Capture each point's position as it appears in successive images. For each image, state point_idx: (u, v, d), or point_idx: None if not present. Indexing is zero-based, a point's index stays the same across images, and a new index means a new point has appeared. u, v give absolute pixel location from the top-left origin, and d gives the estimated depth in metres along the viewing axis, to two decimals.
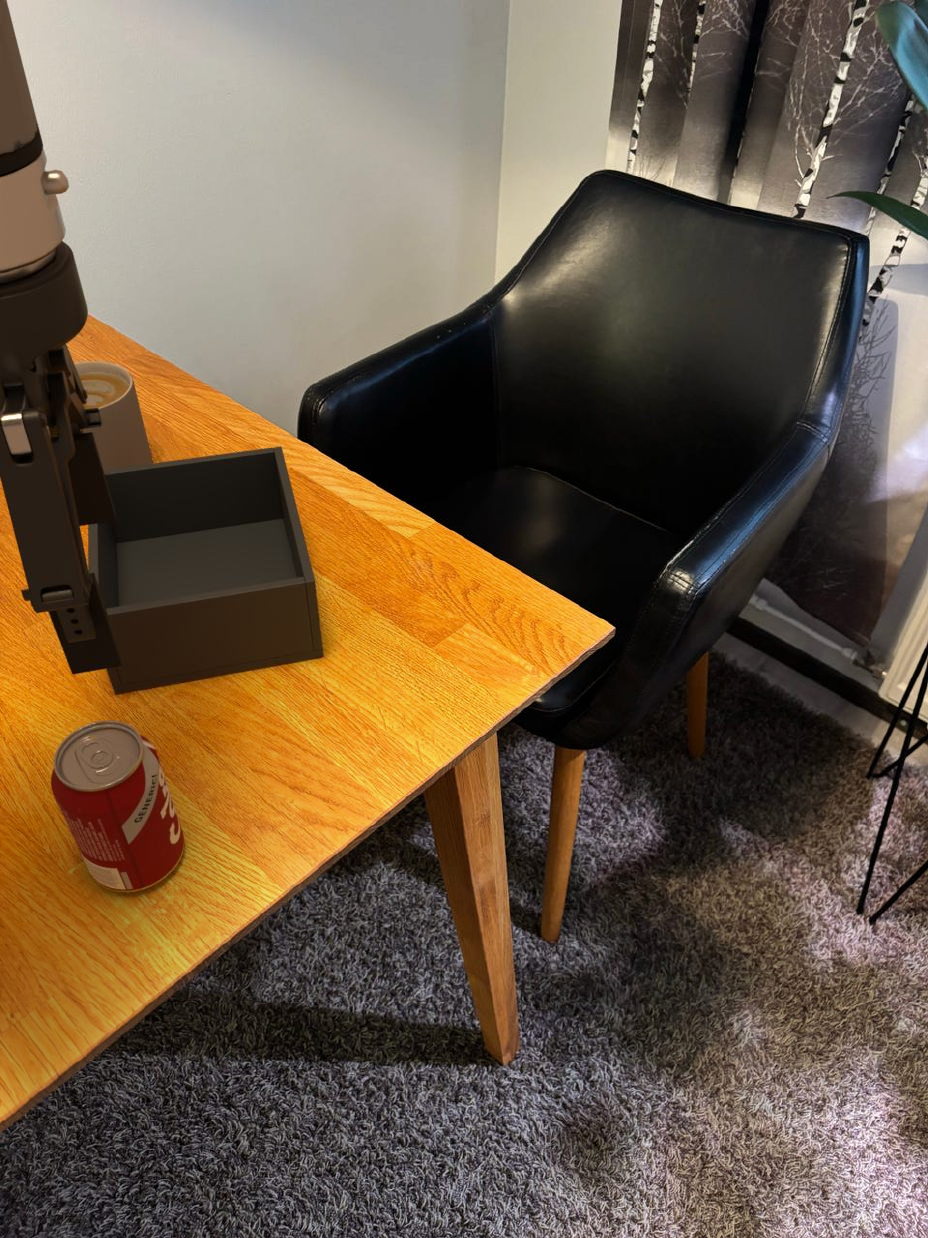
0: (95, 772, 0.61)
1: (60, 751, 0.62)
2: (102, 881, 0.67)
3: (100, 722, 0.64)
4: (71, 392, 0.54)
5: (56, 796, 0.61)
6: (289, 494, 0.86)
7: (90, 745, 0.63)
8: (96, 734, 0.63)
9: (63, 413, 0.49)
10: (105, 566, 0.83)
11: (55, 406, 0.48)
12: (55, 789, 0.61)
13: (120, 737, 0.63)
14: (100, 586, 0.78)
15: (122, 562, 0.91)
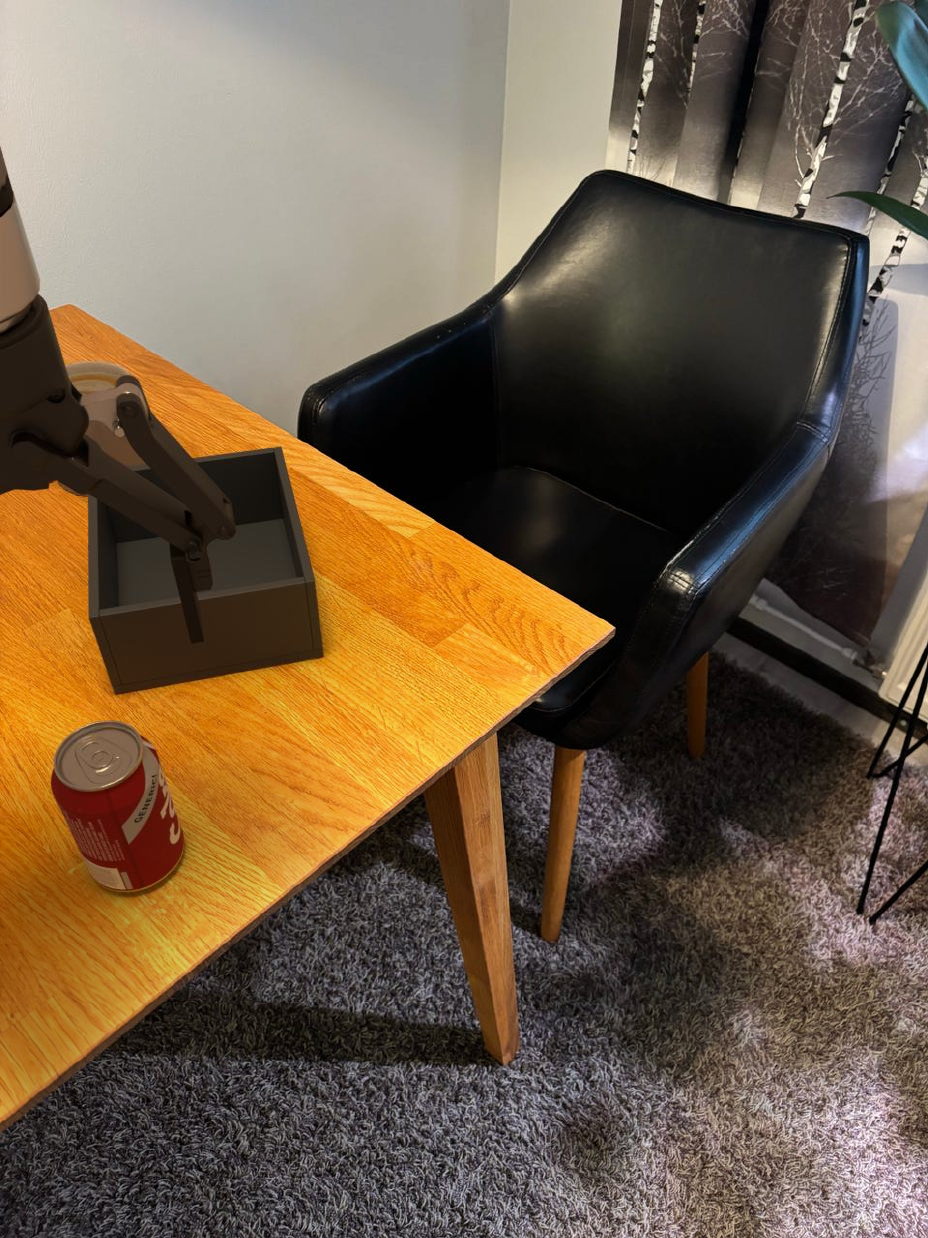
0: (95, 772, 0.61)
1: (60, 751, 0.62)
2: (102, 881, 0.67)
3: (100, 722, 0.64)
4: None
5: (56, 796, 0.61)
6: (289, 494, 0.86)
7: (90, 745, 0.63)
8: (96, 734, 0.63)
9: None
10: (105, 566, 0.83)
11: None
12: (55, 789, 0.61)
13: (120, 737, 0.63)
14: (100, 586, 0.78)
15: (122, 562, 0.91)
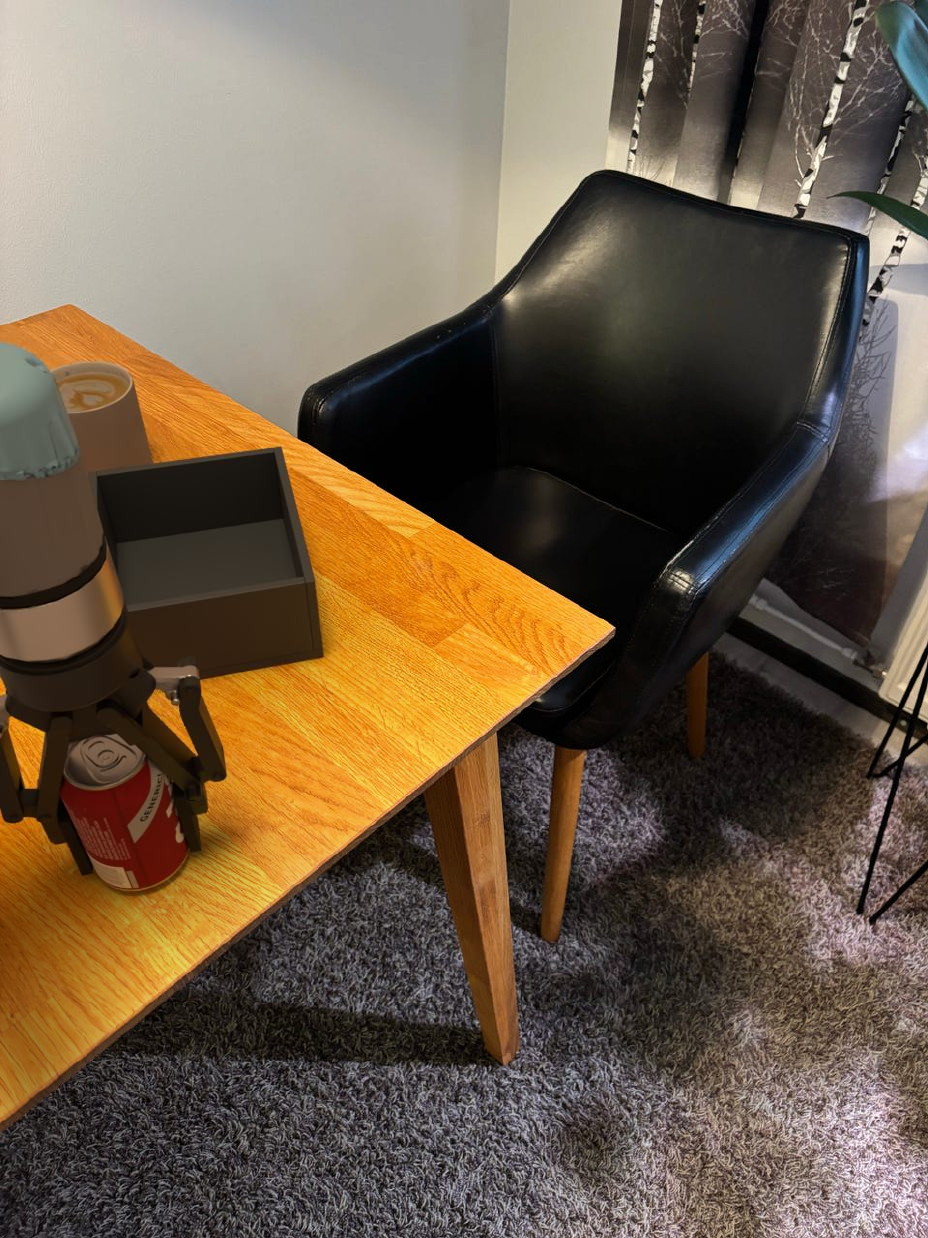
0: (101, 771, 0.61)
1: None
2: (108, 880, 0.67)
3: None
4: None
5: (62, 795, 0.61)
6: (289, 494, 0.86)
7: (96, 744, 0.63)
8: None
9: None
10: None
11: None
12: (61, 788, 0.61)
13: None
14: None
15: (122, 562, 0.91)
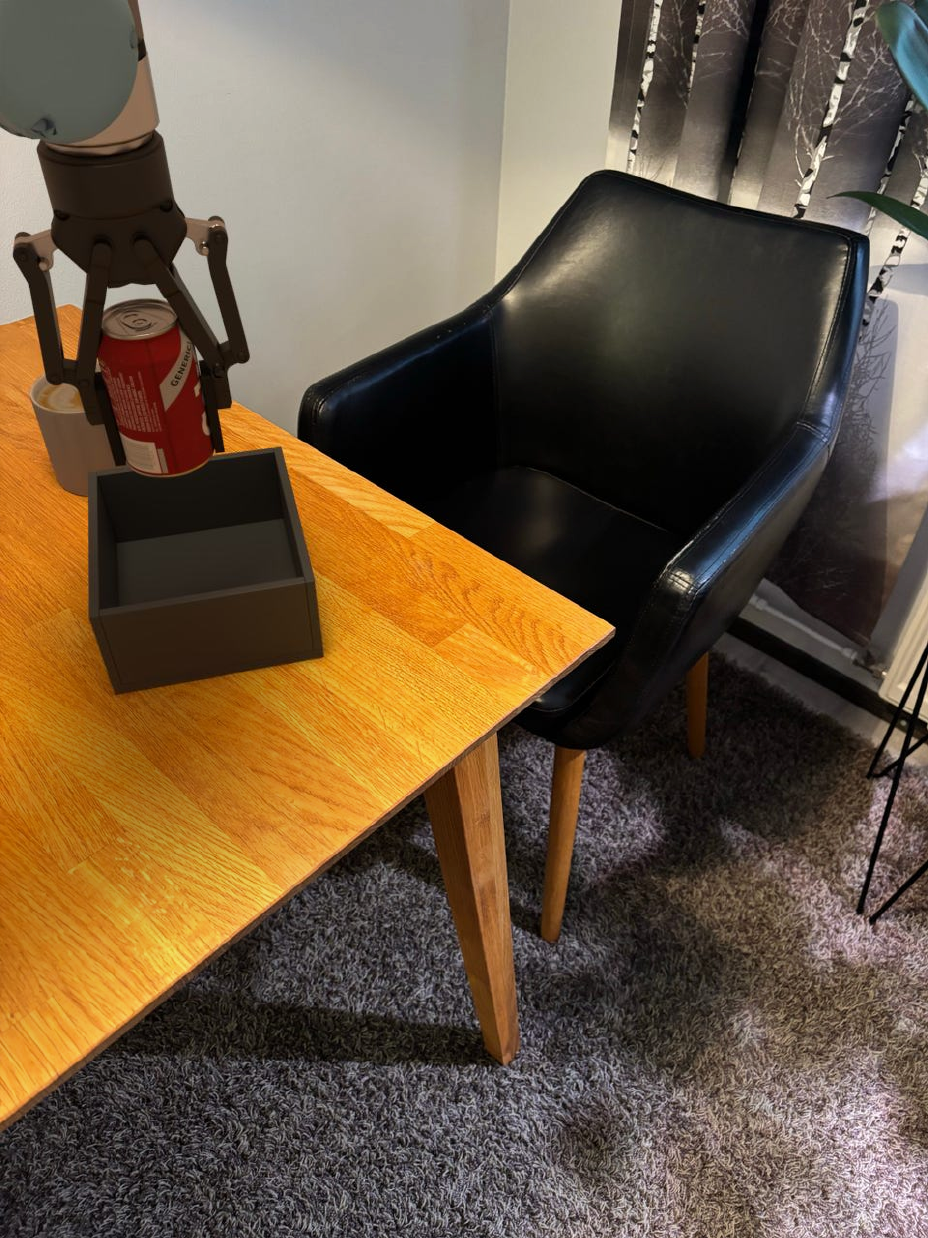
0: (135, 331, 0.67)
1: (103, 317, 0.68)
2: (140, 465, 0.72)
3: (139, 299, 0.69)
4: None
5: (100, 352, 0.67)
6: (289, 494, 0.86)
7: (130, 315, 0.68)
8: (135, 309, 0.69)
9: None
10: (105, 566, 0.83)
11: None
12: (99, 347, 0.67)
13: (157, 310, 0.69)
14: (100, 586, 0.78)
15: (122, 562, 0.91)
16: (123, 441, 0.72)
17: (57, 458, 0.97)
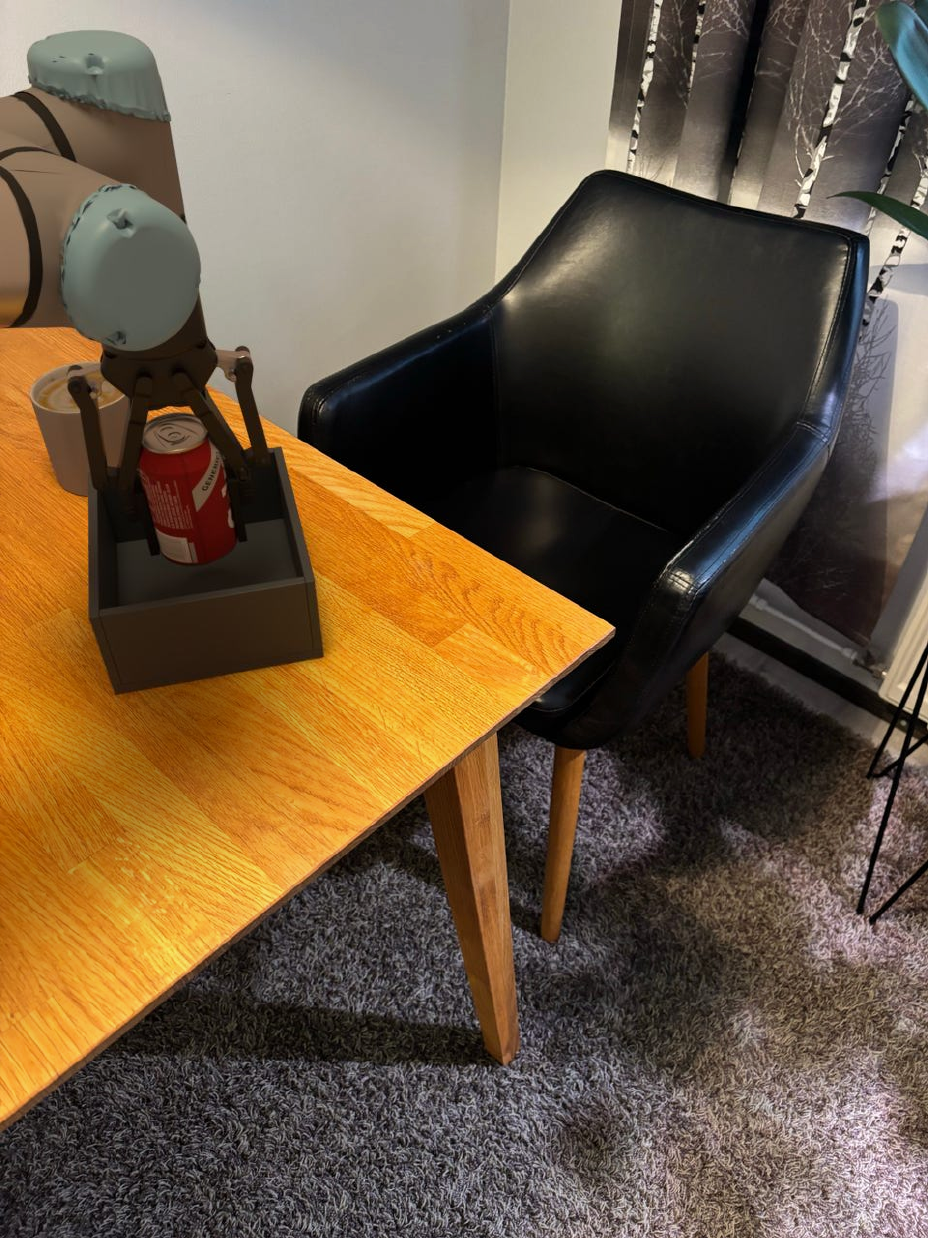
0: (171, 444, 0.76)
1: None
2: (172, 556, 0.82)
3: (173, 413, 0.78)
4: None
5: (140, 463, 0.76)
6: (289, 494, 0.86)
7: (166, 428, 0.78)
8: (170, 422, 0.78)
9: None
10: (105, 566, 0.83)
11: None
12: (139, 458, 0.76)
13: (189, 424, 0.78)
14: (100, 586, 0.78)
15: (122, 562, 0.91)
16: (158, 535, 0.81)
17: (57, 458, 0.97)
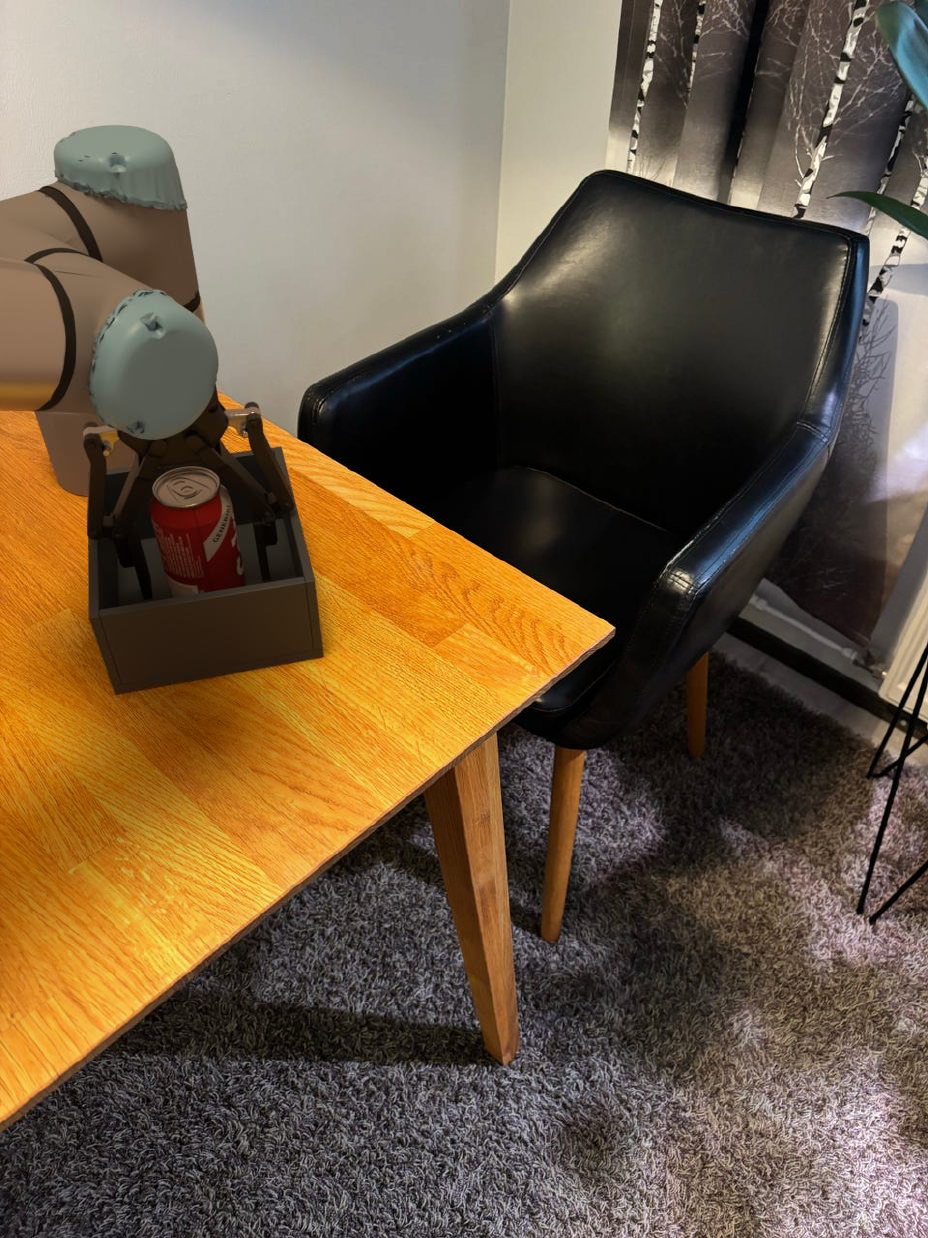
0: (184, 499, 0.80)
1: (156, 485, 0.81)
2: None
3: (185, 467, 0.82)
4: None
5: (154, 516, 0.80)
6: None
7: (179, 482, 0.81)
8: (182, 476, 0.82)
9: None
10: (105, 566, 0.83)
11: None
12: (153, 511, 0.80)
13: (201, 478, 0.82)
14: (100, 586, 0.78)
15: None
16: (170, 582, 0.85)
17: (57, 458, 0.97)
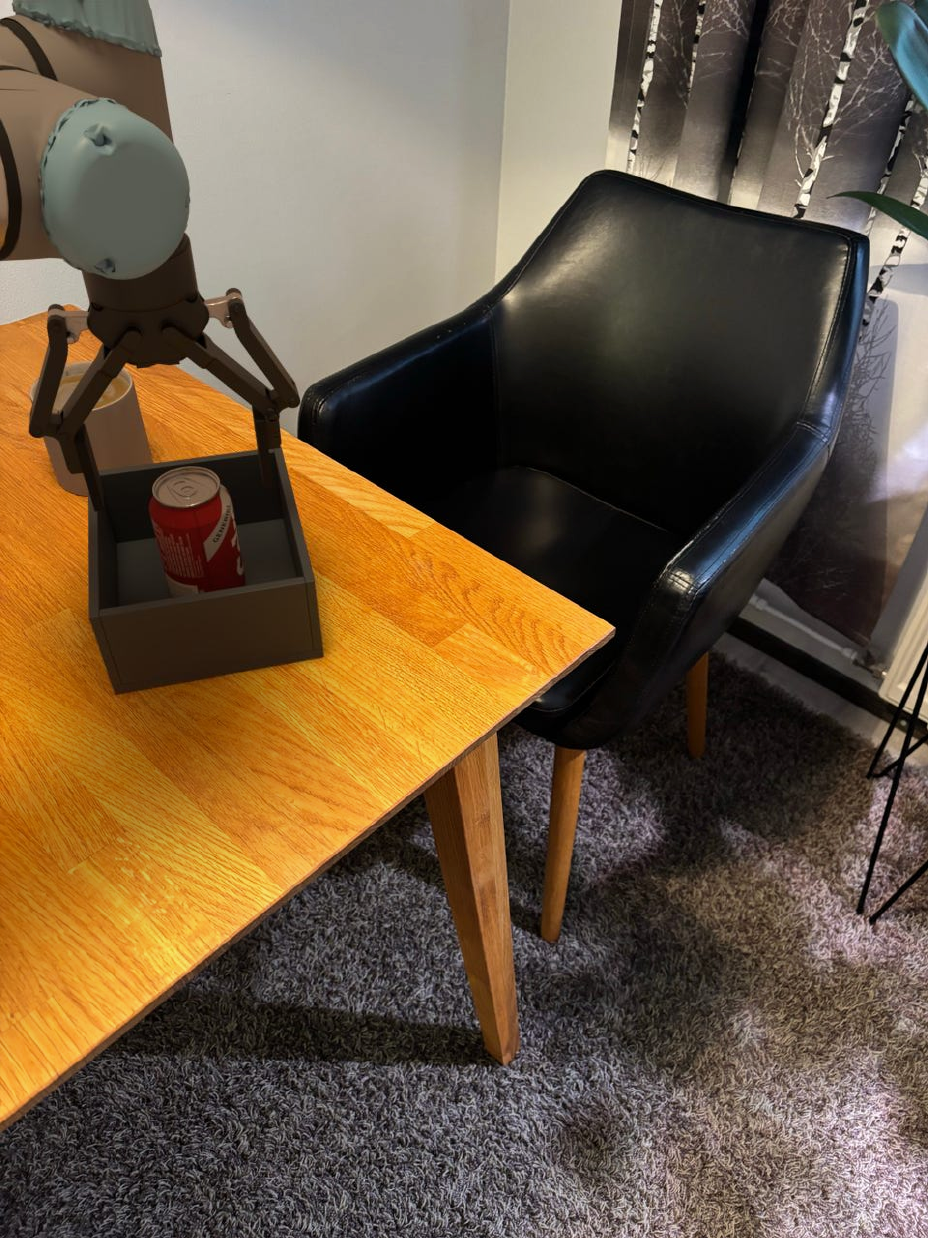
0: (184, 499, 0.80)
1: (156, 485, 0.81)
2: None
3: (185, 467, 0.82)
4: None
5: (154, 516, 0.80)
6: (289, 494, 0.86)
7: (179, 482, 0.81)
8: (182, 476, 0.82)
9: None
10: (105, 566, 0.83)
11: None
12: (153, 511, 0.80)
13: (201, 478, 0.82)
14: (100, 586, 0.78)
15: (122, 562, 0.91)
16: (170, 582, 0.85)
17: (57, 458, 0.97)
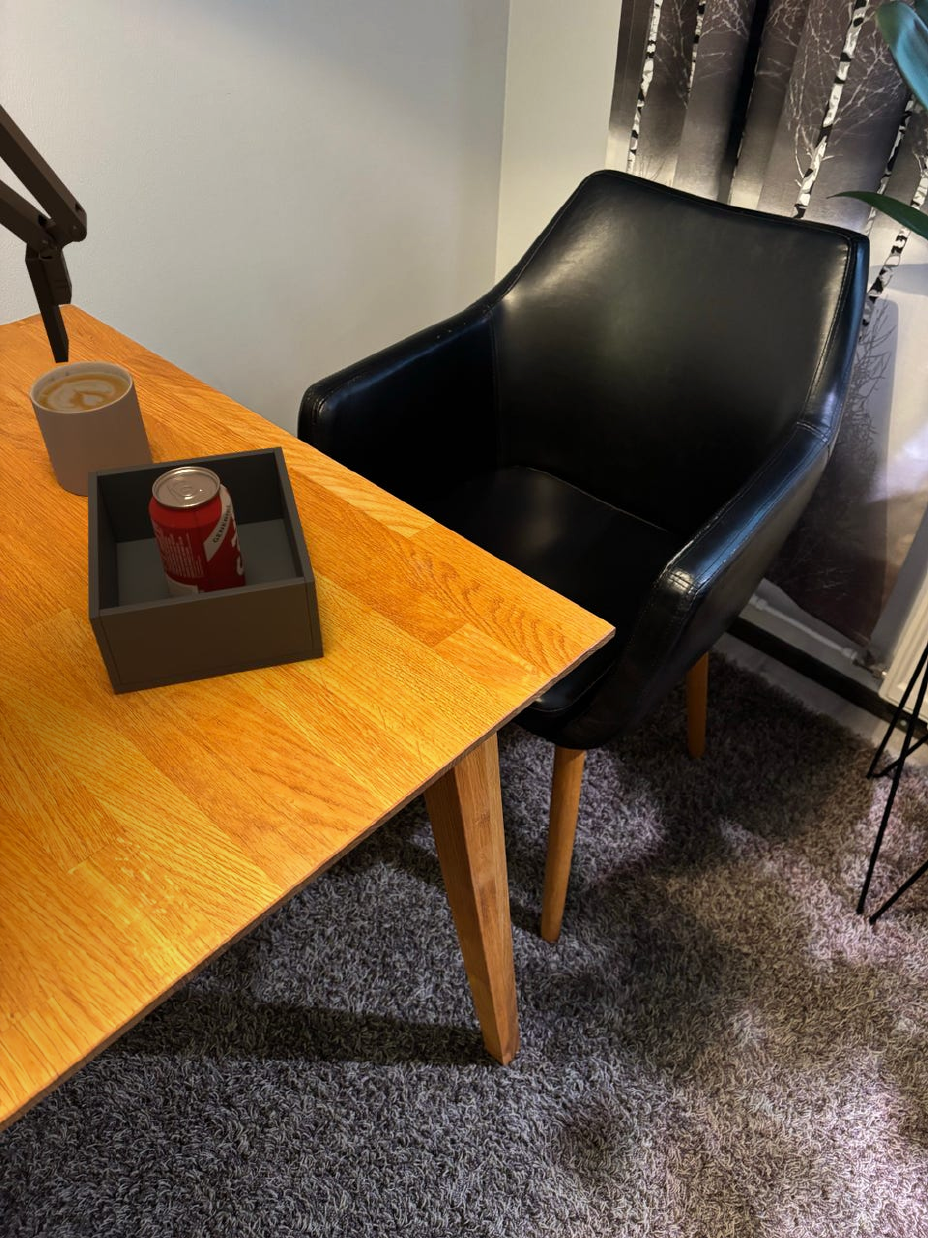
0: (184, 499, 0.80)
1: (156, 485, 0.81)
2: None
3: (185, 467, 0.82)
4: None
5: (154, 516, 0.80)
6: (289, 494, 0.86)
7: (179, 482, 0.81)
8: (182, 476, 0.82)
9: None
10: (105, 566, 0.83)
11: None
12: (153, 511, 0.80)
13: (201, 478, 0.82)
14: (100, 586, 0.78)
15: (122, 562, 0.91)
16: (170, 582, 0.85)
17: (57, 458, 0.97)
